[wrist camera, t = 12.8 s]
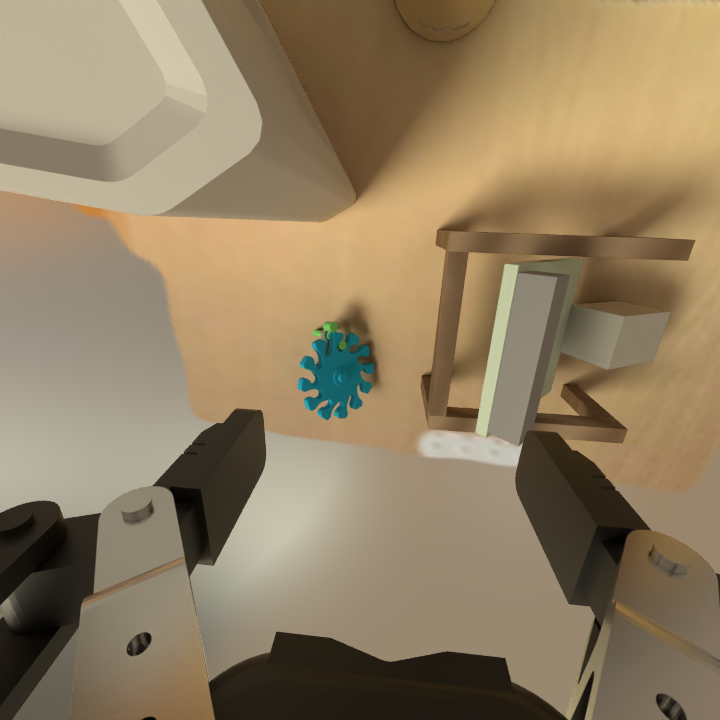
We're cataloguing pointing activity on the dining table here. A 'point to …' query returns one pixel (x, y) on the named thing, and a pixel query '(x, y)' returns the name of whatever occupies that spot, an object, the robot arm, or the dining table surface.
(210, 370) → the dining table surface
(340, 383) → the teal piece
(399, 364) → the dining table surface
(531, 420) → the trapdoor
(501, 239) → the stand
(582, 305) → the small gray block
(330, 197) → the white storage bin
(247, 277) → the dining table surface
